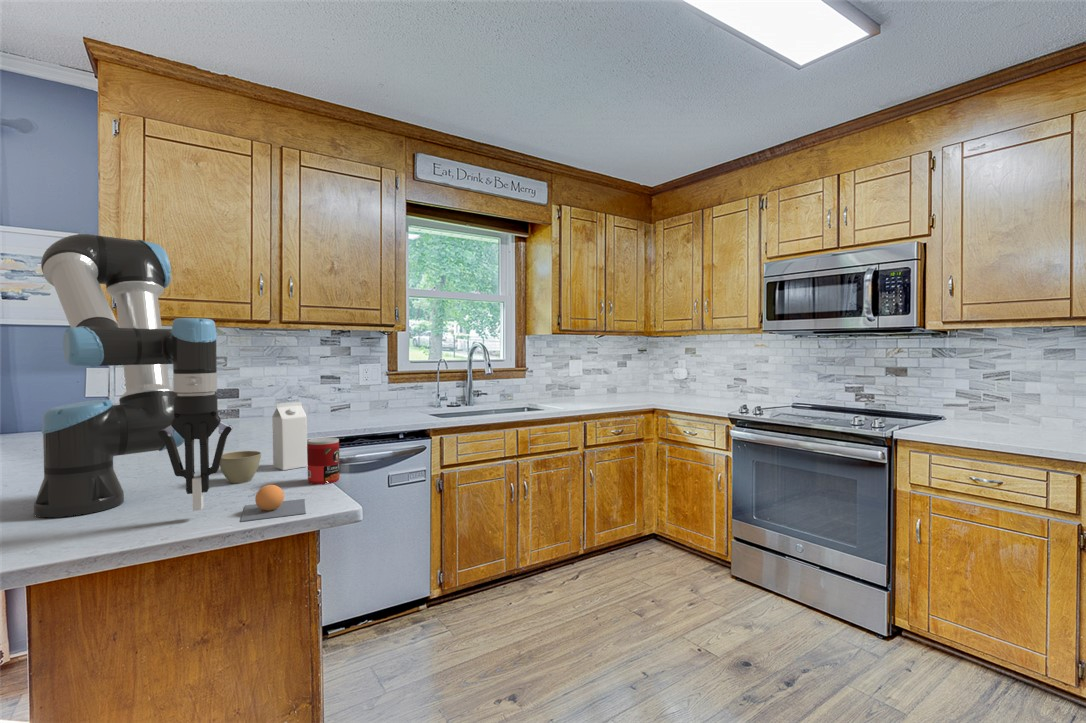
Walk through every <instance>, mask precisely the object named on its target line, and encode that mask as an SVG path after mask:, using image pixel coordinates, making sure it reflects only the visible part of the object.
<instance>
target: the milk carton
mask: <svg viewBox="0 0 1086 723" xmlns="http://www.w3.org/2000/svg"><path fill="white" fill-rule="evenodd" d="M302 403H303V402H302V401H297V402H284V403H276V409H275V410H274V412H273V414H272V419H271V420H272V464H273V468H275V469H279V470H282V471H287V470H293V469H301V468H305V467H308V466H307V441H308V420H307V419H308V418H307V414H306V412H305V410H304V408H303V406H302Z"/></svg>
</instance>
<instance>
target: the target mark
mask: <svg viewBox="0 0 1086 723" xmlns="http://www.w3.org/2000/svg"><path fill="white" fill-rule="evenodd" d="M306 514H307V512H306V502H305V498H298V499H291V500H283V502H282V504H281V505H280V506H279V507H278V508H277V509H275V510H272V511H264V510H262V509H260V508H259V507H258V506H257V504H256V503H254V504H248V505H244V508H243V512H242V516H241V520H240V523H242V522H251V521H258V520H259V521H260V520H268V519H269V520H270V519H274V518H276V519H277V518H285V517H291V516H292V517H293V516H301V515H306Z"/></svg>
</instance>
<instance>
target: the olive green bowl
mask: <svg viewBox="0 0 1086 723" xmlns="http://www.w3.org/2000/svg"><path fill="white" fill-rule="evenodd" d="M261 456H262V452H261V451H256V450H240V451H232V452H226V453H223V454H222V458H221V462H220V466H219V469H220V470H221V472H222V474H223V476H224V477H225V479H226V480H227V482H228V483H230V484H243V483H248V482H250V481H252V479H253V478H254V476H255V475H256V473H257V470H258V468H259V466H260V461H261V458H262V457H261Z"/></svg>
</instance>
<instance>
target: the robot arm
mask: <svg viewBox="0 0 1086 723" xmlns="http://www.w3.org/2000/svg"><path fill="white" fill-rule="evenodd" d="M40 268H41V271H42V275H43V276H44V279H45V280H46V282H48V283H49V284H50V285H51V286H52V287H54V289H55V292H56V294H57V297H58V299H59V302H60V305H61V307H62V310H63V311H64V314H65V316H66V319H67V322H68V324H69V327H68V328H67V329H65V331H64V333H63V338H62V351H63V354H64V356H63V357H64V360H65V361H66V363H67V364H69V365H70V366H73V367H74V366H77V367H78V366H79V367H80V366H81V367H83V366H84V367H91V368H93V367H94V368H95V367H105V366H106V367H109V366H122V367H123V374H124V382H125V392H124V393H123V394H122V395H121V396H120V397H119V398H118V400H119V404H114V403H113V402H112V400H111V399H106V398H105V399H104V398H103V399H94V400H86V401H85V400H84V401H80V402H79V401H78V402H74V403H68V404H62V405H58V406H54V407H51V408H49V409H48V410H45V413H43V417H42V429H41V434H42V441H43V442H42V444H43V473H44V474H43V480H42V483H41V485H40V488H39V490H38V492H37V496H36V498H35V501H34V504H33V515H34V514H35V515H36V516H35V515H34V516H35V517H37V516H40V517H39V518H44V517H55V518H64V517H63V516H68V517H75V515H76V516H81V514H83V515H88V514H92V513H93V512H94V513H98V512H101V511H105V510H109V509H112V508H115V507H118V506H119V505H122V504H123V503H124V502H125V493H124V492H125V491H124V490H123V488H122V485H121V482H120V481H119V479H118V476H117V474H116V472H115V470H114V457H117V456H125V455H133V454H134V455H135V454H141V453H147V452H148V453H149V452H155V451H156V452H157V451H159V452H162V451H167V455H168V457H169V460H170V464H171V466H172V470H173V473H174V475H175V476H176V477H181V478H183V479H185V492H186V494H187V495H191V494H192V511H193V512H194V511H195V512H196V511H201V510H202V509H203V508H204V493H207V492H208V491H209V490H210V476H211V475H213V474H216V473H218V471H219V469H220V462H221V458H222V454H224V450H225V446H226V442H227V438H228V436H229V435H230V433H231V432H232V430H233V426H232V425H230V424H226V423H224V422H222V421H221V418H220V416H219V413H218V410H219V409H218V395H217V394H215V393H216V392H217V391H218V372H217V371H218V370H217V365H218V364H217V358H218V356H217V339H218V334H217V329H216V323H215V321H214V320H213V319H210V318H202V317H201V318H200V317H198V318H197V317H194V318H193V317H180V318H174V319H173V320H172V326H171V328H163V327H162V325H163V324H162V319H161V318H162V317H161V311H160V310H161V309H160V303H159V298H160V297H161V296H162V295H163V294H164V293H165V288H167V287H169V285H170V283H171V281H172V275H171V273H172V268H171V262H170V258H169V256H168V254H167V252H166V250H165V249H164V248H163V247H162V246H161V245H160V244H158V243H156V242H153V241H152V242H151V241H145V240H143V239H130V238H129V239H127V238H123V237H122V238H121V237H114V236H113V237H112V236H104V235H96V234H89V233H78V234H73V235H68V236H65V237H63V238H60V239H59V240H56V241H55V242H54V243H52V244H51V245H49V246H48V248H46V250H45V251H44V253H43V255H42V258H41V262H40ZM101 285H105V286H106V293H107V294H108V295H109V296H111V297H112V298H114V299H115V304H116V314H117V319H116V317H115V314H114V312H113V310H112V307H111V306H110V303H109V301H108V299H107V297H106V295H105V294H104V292H103V289H102V287H101ZM167 365H172V371H173V372H172V375H173V377H172V378H173V379H172V380H173V383H172V384H173V388H172V387H171V386H170V380H169V371H168V366H167ZM217 428H218V434H219V438H218V441H217V445H216V449H215V454H214V456H213V461H212V463H211V467H210V457H209V452H210V451H209V450H210V448H209V447H210V446H209V438H210V437H211V435H212V434H213V433H214V432H215V430H217ZM195 440H198V443H199V456H200V457H199V458H200V459H199V464H200V465H199V467H200V468H199V470H200V475H195V474H196V472H195ZM181 445H184V458H185V459H184V460H185V462H184V466H185V467H184V466H183V463H182V458H181V457H180V453H179V450H178V447H180V446H181ZM73 515H74V516H73Z"/></svg>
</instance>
